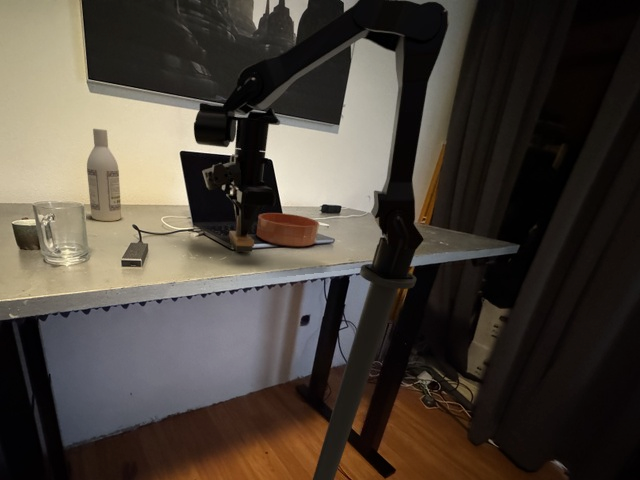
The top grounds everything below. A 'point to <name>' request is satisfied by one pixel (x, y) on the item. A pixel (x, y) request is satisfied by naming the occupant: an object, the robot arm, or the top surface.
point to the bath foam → (103, 180)
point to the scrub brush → (240, 239)
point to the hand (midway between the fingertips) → (241, 233)
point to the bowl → (287, 229)
